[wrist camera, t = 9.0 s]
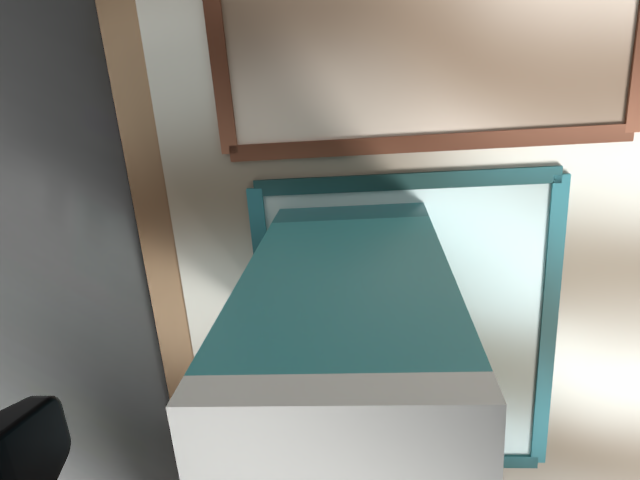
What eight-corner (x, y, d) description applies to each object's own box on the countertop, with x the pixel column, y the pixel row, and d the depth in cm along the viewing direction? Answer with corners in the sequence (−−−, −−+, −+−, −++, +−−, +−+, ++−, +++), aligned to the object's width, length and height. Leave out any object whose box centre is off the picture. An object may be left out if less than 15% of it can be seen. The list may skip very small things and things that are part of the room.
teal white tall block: (424, 331, 14) (494, 649, 6) (291, 334, 14) (210, 639, 7) (423, 202, 13) (506, 405, 5) (279, 209, 13) (166, 407, 6)
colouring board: (674, 496, 16) (687, 514, 15) (192, 490, 17) (185, 506, 17) (819, -246, 10) (847, -266, 9) (73, -159, 11) (57, -171, 11)
